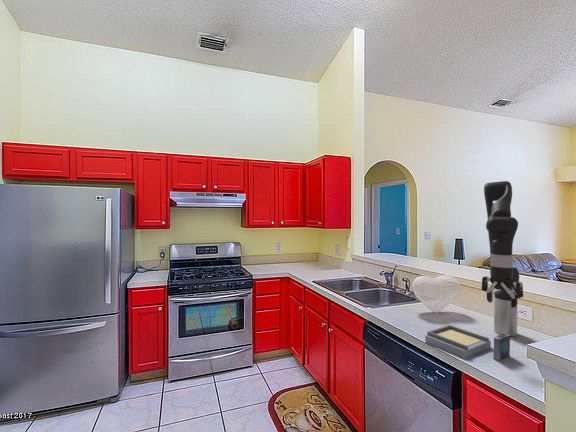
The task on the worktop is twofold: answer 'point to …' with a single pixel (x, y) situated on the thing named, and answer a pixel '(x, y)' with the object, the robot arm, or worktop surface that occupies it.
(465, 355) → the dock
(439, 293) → the heart
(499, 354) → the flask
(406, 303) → the worktop surface
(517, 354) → the worktop surface
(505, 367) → the worktop surface
